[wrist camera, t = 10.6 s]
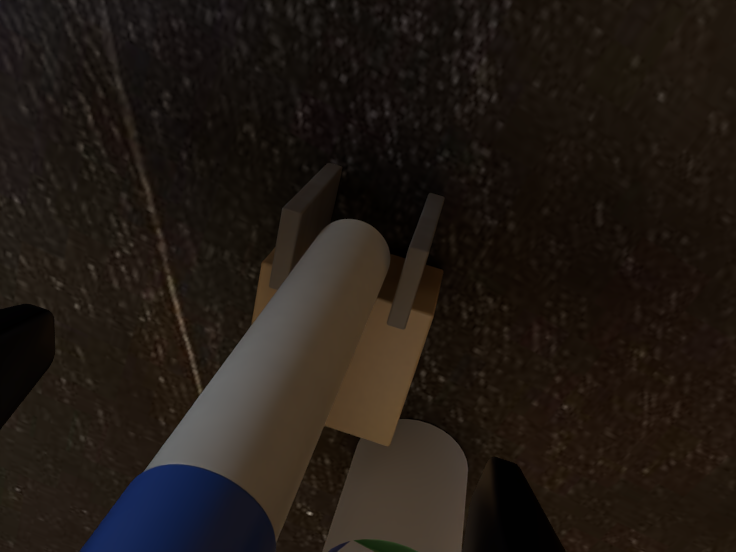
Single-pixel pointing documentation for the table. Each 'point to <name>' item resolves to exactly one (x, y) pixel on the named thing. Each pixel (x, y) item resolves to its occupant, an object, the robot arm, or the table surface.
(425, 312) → the tan block with prongs
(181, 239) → the table surface
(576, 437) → the table surface
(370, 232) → the marker
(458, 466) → the tube
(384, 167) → the table surface
